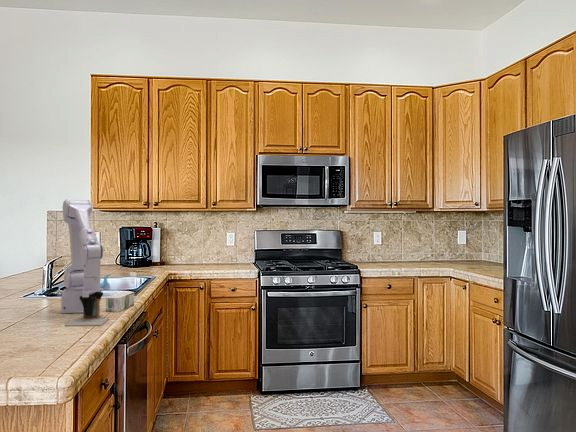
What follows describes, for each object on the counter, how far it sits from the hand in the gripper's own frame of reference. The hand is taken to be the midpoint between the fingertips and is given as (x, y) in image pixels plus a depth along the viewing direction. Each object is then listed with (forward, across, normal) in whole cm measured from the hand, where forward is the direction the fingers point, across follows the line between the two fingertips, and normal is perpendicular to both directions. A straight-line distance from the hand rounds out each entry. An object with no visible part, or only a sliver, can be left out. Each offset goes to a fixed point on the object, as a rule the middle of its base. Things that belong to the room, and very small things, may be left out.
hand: (91, 313), depth 174 cm
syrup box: (-1, +26, -7) cm, 27 cm away
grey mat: (+2, -8, -1) cm, 8 cm away
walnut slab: (+2, 0, 0) cm, 2 cm away
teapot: (+2, +54, +17) cm, 56 cm away
